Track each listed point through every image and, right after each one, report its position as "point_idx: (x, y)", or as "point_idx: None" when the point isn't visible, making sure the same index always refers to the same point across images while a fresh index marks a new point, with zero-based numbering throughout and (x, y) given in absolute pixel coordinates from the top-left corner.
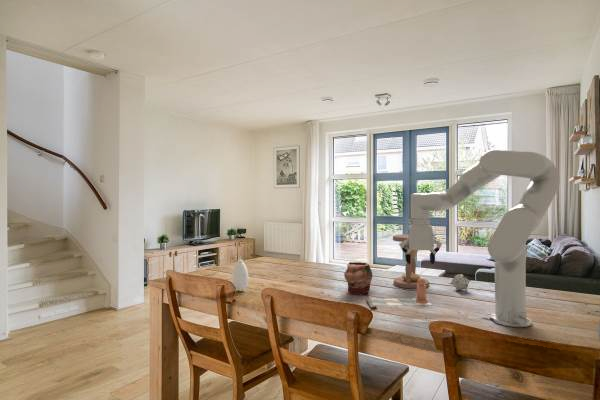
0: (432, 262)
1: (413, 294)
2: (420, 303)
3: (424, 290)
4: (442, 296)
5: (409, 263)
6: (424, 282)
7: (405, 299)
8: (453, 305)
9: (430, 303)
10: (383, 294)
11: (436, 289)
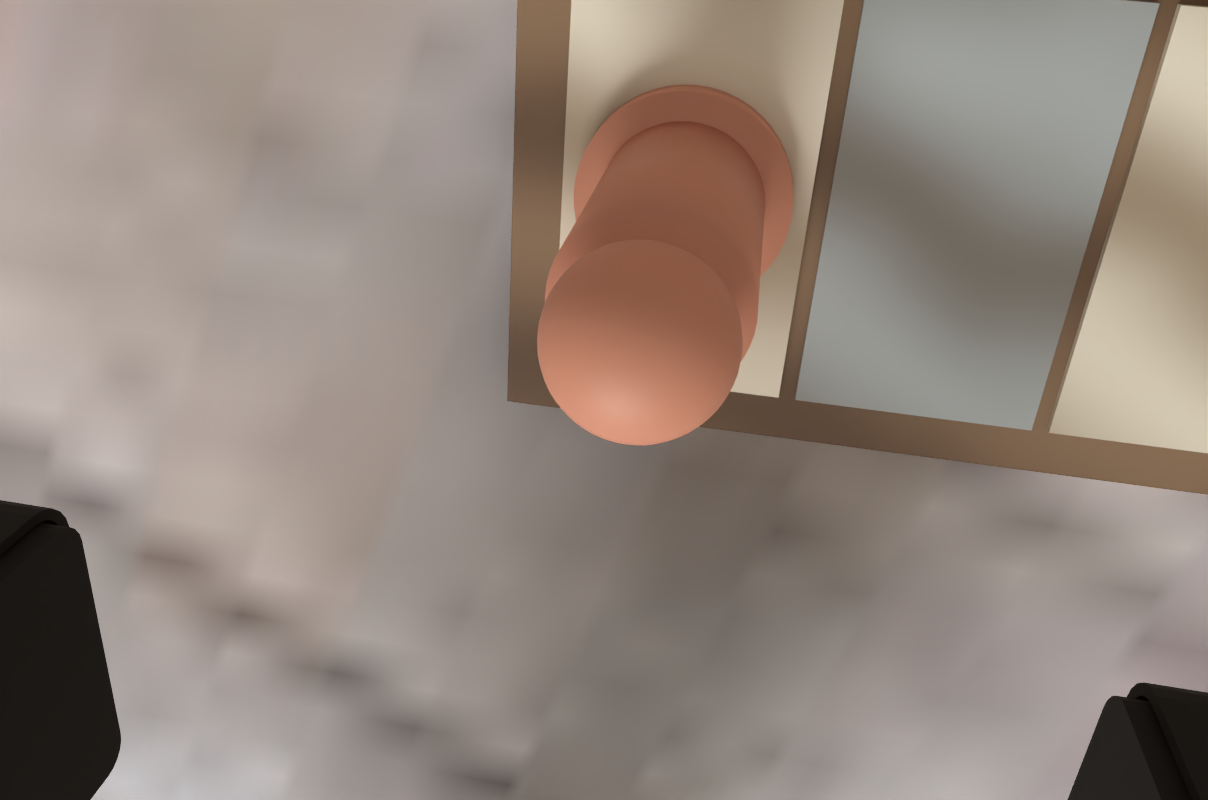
0: (24, 546)
1: (604, 672)
2: (756, 78)
3: (627, 179)
4: (224, 517)
5: (1187, 690)
6: (586, 257)
7: (919, 354)
8: (180, 57)
9: (571, 53)
10: (1059, 755)
11: (219, 793)
